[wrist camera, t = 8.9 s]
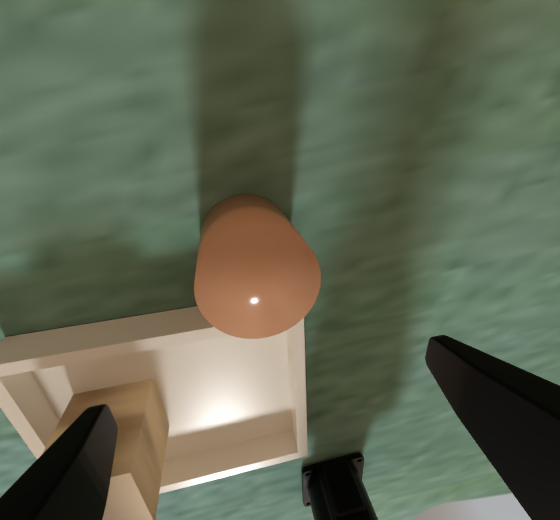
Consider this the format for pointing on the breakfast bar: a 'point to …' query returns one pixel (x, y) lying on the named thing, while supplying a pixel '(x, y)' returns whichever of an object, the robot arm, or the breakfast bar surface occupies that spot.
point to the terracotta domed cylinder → (253, 269)
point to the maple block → (128, 446)
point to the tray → (169, 388)
